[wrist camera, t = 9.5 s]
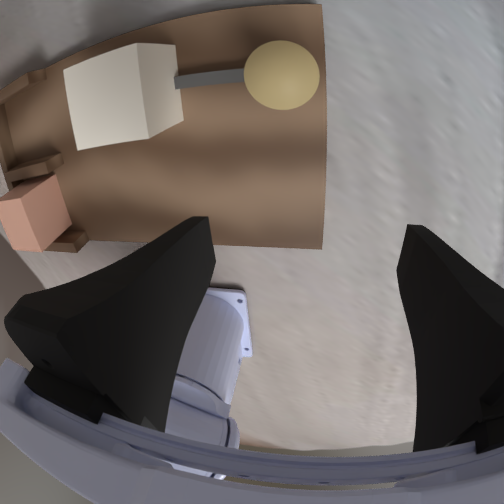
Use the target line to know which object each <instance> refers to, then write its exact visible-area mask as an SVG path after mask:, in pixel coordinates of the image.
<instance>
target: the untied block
mask: <svg viewBox="0 0 504 504" xmlns="http://www.w3.org/2000/svg"><path fill="white" fill-rule="evenodd" d="M0 220H1V222H2V225H3V227H4V229H5V232H6V234H7V236H8V239H9V241H10V243H11V245H12V247H13V249H14V250H21V251H33V252H43V251H44V250H45V249H46V248H47V247H48V246H49V245H50V244H51V243H52V242H53V241H54V240H55V239H56V238H57V237H58V236H60V235H61V234H62V233H63V232H64V231H65V230H66V229H67V228H68V227H69V226H70V225H71V224H72V222H71V219H70V216H69V214H68V211H67V208H66V205H65V202H64V199H63V196H62V193H61V190H60V187H59V183H58V180H57V177H56V174H53V175H48V176H43V177H38V178H33V179H29V180H25V181H24V182H22V183H21V184H19V185H18V186H16V187H15V188H13V189H12V190H11V191H9V192H8V193H6V194H5V195H4V196H2V197H1V198H0Z"/></svg>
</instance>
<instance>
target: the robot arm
mask: <svg viewBox="0 0 504 504" xmlns="http://www.w3.org/2000/svg"><path fill="white" fill-rule="evenodd" d="M215 263H216V259H215V253H214V247H213V242H212V236H211V230H210V224H209V217H208V216H192V217H190V218H188V219H186V220H185V221H183V222H181V223H179V224H178V225H176V226H175V227H173V228H172V229H170V230H168V231H167V232H165V233H164V234H162V235H161V236H159V237H158V238H156V239H155V240H153V241H151V242H150V243H148V244H146V245H145V246H143V247H141V248H140V249H138V250H137V251H135V252H133V253H132V254H130V255H128V256H126V257H124V258H123V259H121V260H119V261H117V262H115V263H113V264H111V265H109V266H107V267H105V268H103V269H100V270H98V271H96V272H93V273H91V274H89V275H87V276H84V277H82V278H79V279H77V280H74V281H71V282H68V283H65V284H62V285H59V286H56V287H53V288H50V289H46V290H42V291H39V292H34V293H31V294H26V295H24V296H23V297H21V298H20V299H19V300H18V302H17V303H16V304H15V305H14V307H13V308H12V309H11V310H10V311H9V313H8V314H7V315H6V316H5V319H4V324H5V328H6V330H7V332H8V334H9V336H10V337H11V338H12V340H13V341H14V343H15V344H16V345H17V346H18V347H19V349H20V350H21V351H22V352H23V354H24V355H25V356H26V357H27V359H28V360H29V361H30V362H31V363H32V364H33V365H34V367H33V368H32V370H31V371H30V372H29V371H28V370H27V369H26V368H24V367H23V366H21V365H20V364H18V363H16V362H14V361H12V360H11V359H9V358H6V359H5V361H4V362H3V364H2V365H1V367H0V432H1V433H2V434H3V435H4V436H5V437H6V438H7V439H8V440H9V441H11V442H12V443H13V444H14V445H15V446H16V447H17V448H18V449H19V450H21V451H22V452H23V453H24V454H25V455H26V456H28V457H29V458H30V459H31V460H32V461H34V462H35V463H36V464H38V465H39V466H40V467H41V468H42V469H44V470H45V471H46V472H48V473H49V474H50V475H52V476H53V477H54V478H56V479H57V480H59V481H60V482H61V483H63V484H64V485H66V486H67V487H69V488H70V489H72V490H73V491H75V492H76V493H78V494H80V495H81V496H83V497H84V498H86V499H88V500H89V501H91V502H93V503H95V504H504V289H503V288H502V287H501V286H499V285H498V284H496V283H495V282H494V281H492V280H491V279H489V278H488V277H487V276H485V275H484V274H483V273H481V272H480V271H479V270H478V269H476V268H475V267H474V266H473V265H471V264H470V263H469V262H468V261H467V260H465V259H464V258H463V257H462V256H461V255H459V254H458V253H457V252H456V251H455V250H453V249H452V248H451V247H450V246H449V245H448V244H446V243H445V242H444V241H443V240H442V239H440V238H439V237H438V236H437V235H435V234H434V233H433V232H432V231H430V230H429V229H427V228H426V227H424V226H423V225H411V224H407V228H406V233H405V237H404V242H403V246H402V250H401V254H400V258H399V262H398V266H397V270H396V271H397V278H398V284H399V291H400V296H401V299H402V303H403V307H404V311H405V314H406V318H407V322H408V326H409V330H410V334H411V338H412V343H413V348H414V354H415V366H416V382H417V412H416V428H415V438H414V446H413V452H411V453H403V454H392V455H380V456H364V457H363V456H361V457H315V456H314V457H312V456H296V455H283V454H272V453H264V452H256V451H248V450H241V449H238V448H239V442H240V433H239V429H238V427H237V423H236V421H235V420H234V419H233V418H231V417H228V416H229V412H230V408H231V405H229V404H230V403H231V400H232V397H233V393H234V389H235V385H236V381H237V377H238V373H239V369H240V365H241V361H242V357H251V356H252V354H253V350H252V341H251V333H250V325H249V316H248V308H247V299H246V293H245V292H244V291H242V290H234V289H221V288H209V284H210V281H211V278H212V274H213V271H214V267H215ZM239 299H241V300H239ZM226 476H232V477H237V478H244V479H251V480H257V481H265V482H275V483H286V484H301V485H362V484H378V483H388V482H397V481H400V482H397V483H396V484H395V485H394V487H392V488H381V489H363V490H336V491H335V490H327V491H326V490H298V489H284V488H273V487H264V486H257V485H249V484H243V483H237V482H231V481H225V480H223V479H224V478H225V477H226Z"/></svg>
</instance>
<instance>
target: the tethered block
mask: <svg viewBox="0 0 504 504" xmlns="http://www.w3.org/2000/svg"><path fill="white" fill-rule="evenodd" d="M63 73H64V80H65V87H66V94H67V100H68V106H69V111H70V117H71V122H72V127H73V132H74V136H75V141H76V145H77V150H83V149H88V148H93V147H98V146H104V145H110V144H116V143H122V142H128V141H135V140H143V139H149V138H151V137H153V136H155V135H157V134H159V133H160V132H162V131H164V130H166V129H168V128H170V127H172V126H174V125H176V124H178V123H180V122H182V121H184V119H183V111H182V103H181V94H180V89H183V88H190V87H197V86H205V85H215V84H225V83H238V82H245V84H246V87H247V89H248V91H249V93H250V94H251V95H252V97H253V98H254V99H255V100H257V101H258V102H259V103H261V104H262V105H264V106H266V107H269V108H272V109H277V110H289V109H294V108H297V107H299V106H302V105H303V104H305V103H306V102H307V101H309V100H310V99H311V98H312V96H313V95H314V94H315V92H316V90H317V88H318V85H319V78H320V74H319V68H318V65H317V63H316V61H315V59H314V57H313V56H312V55H311V53H310V52H308V51H307V50H306V49H305V48H304V47H302V46H300V45H298V44H296V43H293V42H290V41H281V40H279V41H272V42H268V43H265V44H263V45H261V46H259V47H258V48H257V49H255V50H254V51H253V52H252V53H251V55H250V56H249V58H248V59H247V61H246V64H245V67H244V69H232V70H221V71H212V72H204V73H196V74H189V75H183V76H178V67H177V57H176V46H175V45H169V44H153V43H134V44H131V45H128V46H124V47H121V48H118V49H115V50H112V51H109V52H107V53H104V54H101V55H98V56H96V57H93V58H90V59H88V60H85V61H83V62H80V63H78V64H76V65H73V66H71V67H69V68H66V69H64V70H63Z"/></svg>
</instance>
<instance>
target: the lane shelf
mask: <svg viewBox="0 0 504 504" xmlns="http://www.w3.org/2000/svg"><path fill="white" fill-rule="evenodd" d="M279 40H281V41H290V42H293V43H296V44H298V45H300V46H302V47H304V48H305V49H306V50H307V51H308V52H310V53H311V55H312V56H313V57H314V59H315V61H316V63H317V65H318V68H319V74H320V78H319V85H318V88H317V90H316V92H315V94H314V95H313V96H312V98H311V99H310V100H309V101H307V102H306V103H305V104H303V105H302V106H299V107H297V108H294V109H289V110H277V109H272V108H269V107H266V106H264V105H262V104H261V103H259V102H258V101H257V100H255V99H254V98H253V97H252V95H251V94H250V93H249V91H248V89H247V87H246V84H245V82H238V83H225V84H215V85H205V86H197V87H190V88H183V89H180V94H181V103H182V111H183V119H184V121H182V122H180V123H178V124H176V125H174V126H172V127H170V128H168V129H166V130H164V131H162V132H160V133H159V134H157V135H155V136H153V137H151V138H149V139H143V140H135V141H128V142H122V143H116V144H110V145H104V146H98V147H93V148H88V149H83V150H77V145H76V141H75V136H74V132H73V127H72V122H71V117H70V111H69V106H68V100H67V94H66V87H65V80H64V73H63V70H64V69H66V68H69V67H71V66H73V65H76V64H78V63H80V62H83V61H85V60H88V59H90V58H93V57H96V56H98V55H101V54H104V53H107V52H109V51H112V50H115V49H118V48H121V47H124V46H128V45H131V44H134V43H153V44H169V45H175V46H176V57H177V67H178V76H183V75H189V74H196V73H204V72H212V71H221V70H232V69H244V67H245V64H246V61H247V59H248V58H249V56H250V55H251V53H252V52H253V51H254V50H255V49H257V48H258V47H259V46H261V45H263V44H265V43H268V42H272V41H279ZM326 152H327V98H326V64H325V44H324V28H323V15H322V4H282V5H263V6H251V7H241V8H233V9H226V10H219V11H213V12H207V13H201V14H196V15H191V16H186V17H182V18H177V19H173V20H169V21H165V22H161V23H158V24H154V25H151V26H147V27H144V28H141V29H137V30H134V31H131V32H128V33H125V34H122V35H119V36H117V37H114V38H111V39H108V40H106V41H103V42H101V43H98V44H96V45H93V46H91V47H89V48H86V49H84V50H82V51H79V52H77V53H75V54H73V55H71V56H69V57H66V58H64V59H62V60H60V61H58V62H56V63H54V64H53V65H51V66H49V67H47V68H44V69H40V70H35V71H31V72H27V73H26V74H24V75H22V76H21V77H19V78H18V79H16V80H15V81H13V82H12V83H10V84H9V85H7V86H6V87H4V88H3V89H1V90H0V163H1V167H2V170H3V173H4V177H5V180H6V183H7V186H8V189H9V191H11V190H12V189H13V188H15V187H16V186H18V185H19V184H21V183H22V182H24V181H25V180H29V179H33V178H38V177H43V176H48V175H53V174H56V177H57V180H58V183H59V187H60V190H61V193H62V196H63V199H64V202H65V205H66V208H67V211H68V214H69V216H70V219H71V222H72V224H71V225H70V226H69V227H68V228H67V229H66V230H65V231H64V232H63V233H62V234H61V235H60V236H58V237H57V238H56V239H55V240H54V241H53V242H52V243H51V244H50V245H49V246H48V247H47V248H46V249H45V250H44V251H57V252H71V253H78V251H79V250H80V249H81V248H82V247H83V246H84V245H85V244H86V243H87V242H88V241H89V240H97V241H125V242H151V241H153V240H155V239H156V238H158V237H159V236H161V235H162V234H164V233H165V232H167V231H168V230H170V229H172V228H173V227H175V226H176V225H178V224H179V223H181V222H183V221H185V220H186V219H188V218H190V217H192V216H208V217H209V224H210V230H211V236H212V242H213V245H230V246H254V247H278V248H301V249H322V242H323V227H324V210H325V188H326Z"/></svg>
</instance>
